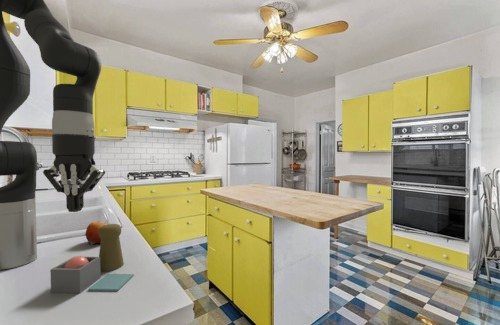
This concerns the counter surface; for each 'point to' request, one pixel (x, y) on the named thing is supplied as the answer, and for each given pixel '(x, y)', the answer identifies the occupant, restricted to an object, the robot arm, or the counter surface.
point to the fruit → (94, 232)
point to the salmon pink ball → (76, 262)
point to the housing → (75, 277)
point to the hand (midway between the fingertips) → (75, 211)
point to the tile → (111, 282)
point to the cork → (110, 248)
